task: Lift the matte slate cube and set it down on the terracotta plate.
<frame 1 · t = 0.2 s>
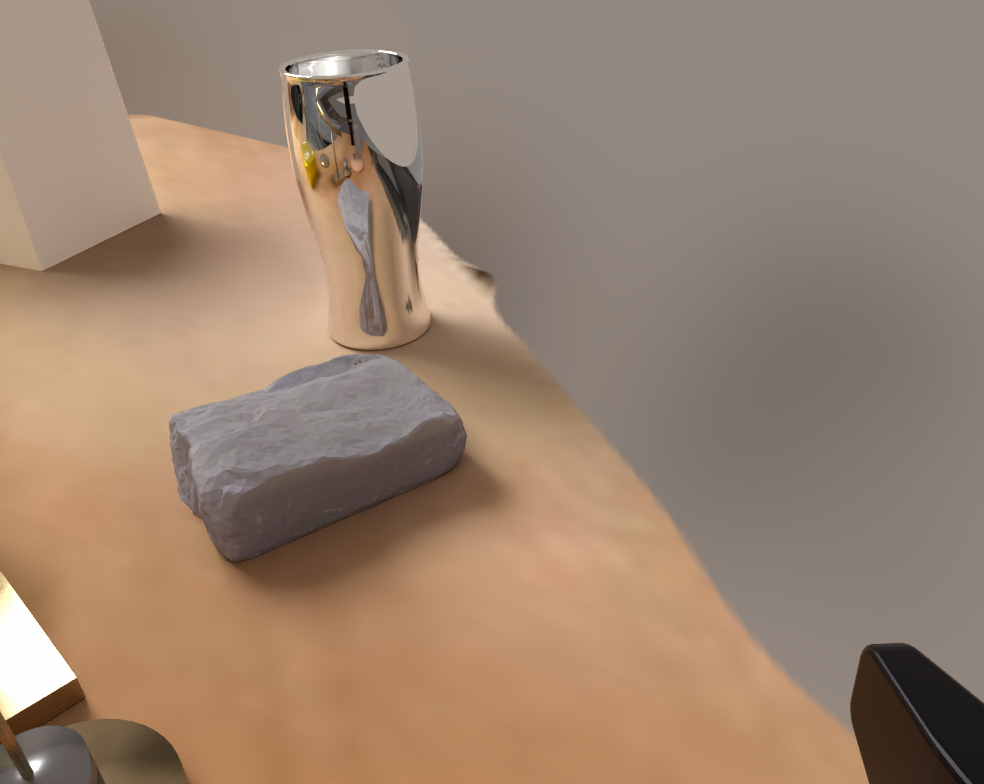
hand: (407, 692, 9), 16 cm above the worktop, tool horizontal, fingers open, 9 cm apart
stone block: (314, 469, 40), on the worktop
beer glass: (380, 328, 51), on the worktop
milk: (52, 234, 68), on the worktop
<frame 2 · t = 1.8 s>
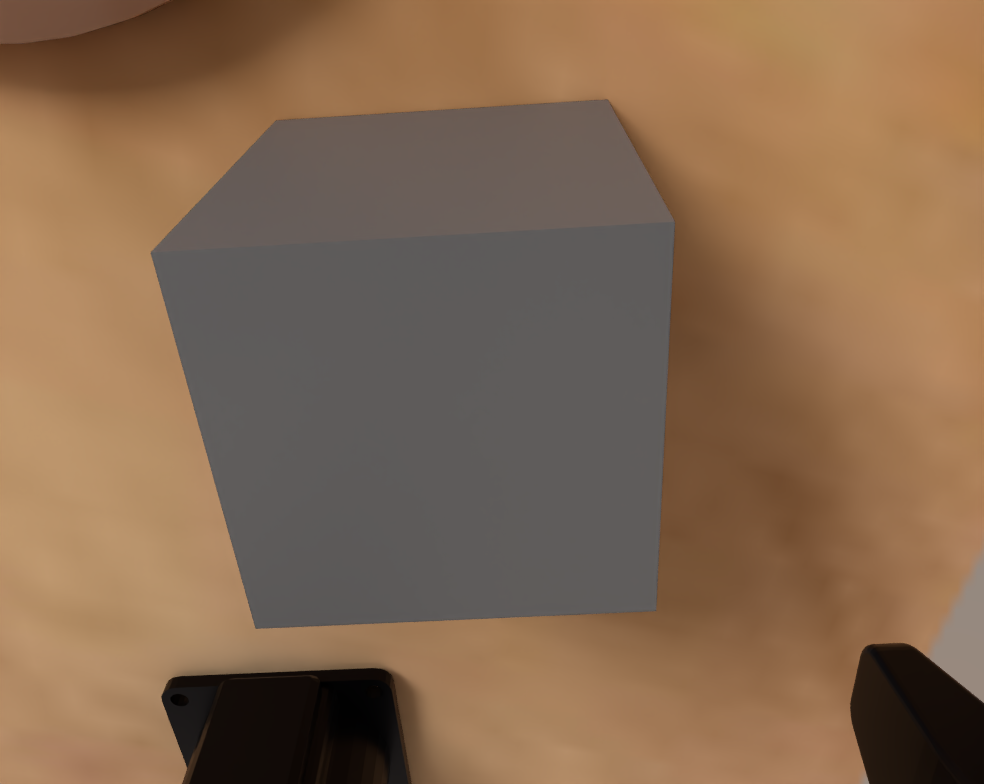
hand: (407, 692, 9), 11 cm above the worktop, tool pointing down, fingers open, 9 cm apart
matte slate cube: (454, 265, 18), on the worktop
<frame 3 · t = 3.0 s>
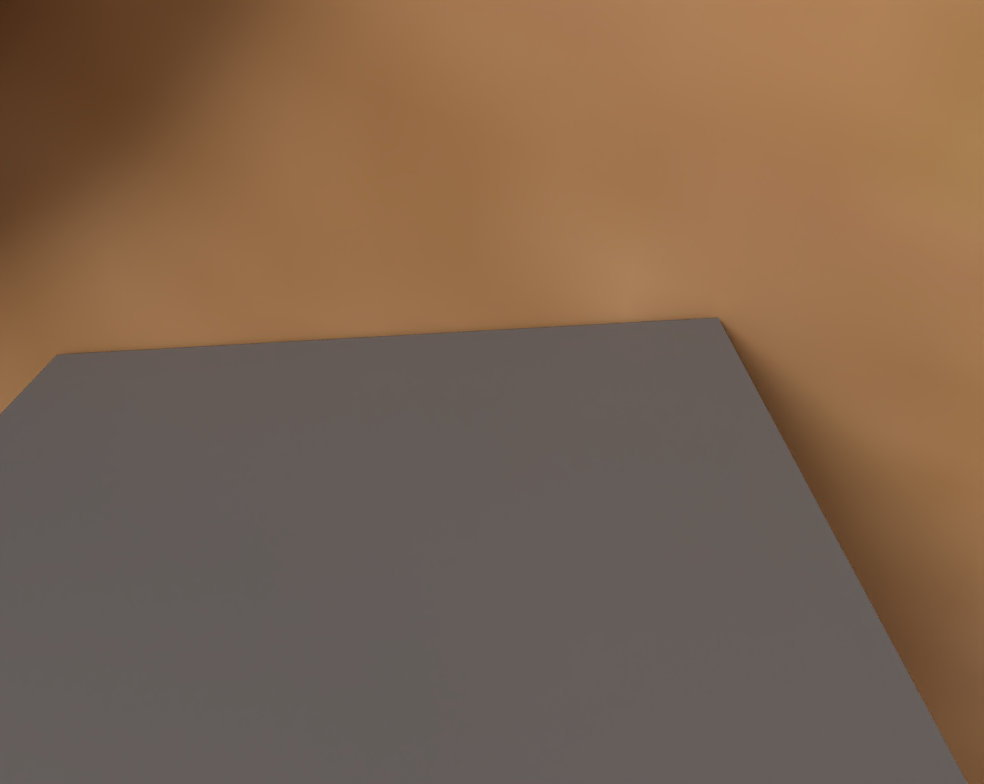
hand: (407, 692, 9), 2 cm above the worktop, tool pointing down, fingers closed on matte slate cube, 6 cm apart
matte slate cube: (418, 585, 10), on the worktop, touching gripper
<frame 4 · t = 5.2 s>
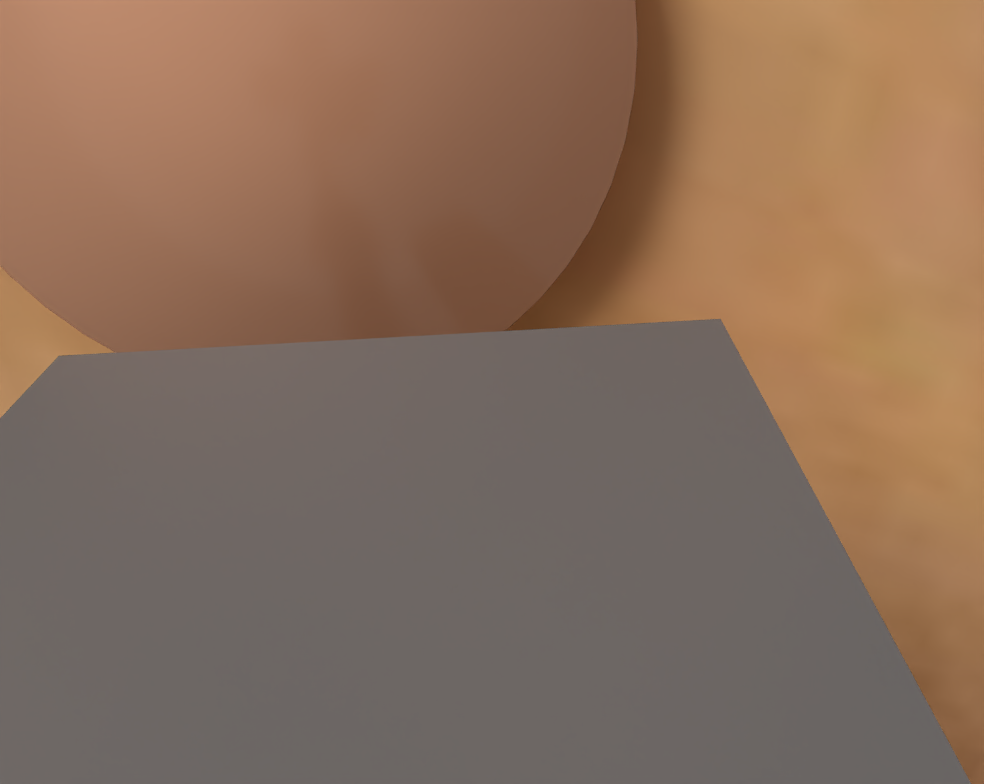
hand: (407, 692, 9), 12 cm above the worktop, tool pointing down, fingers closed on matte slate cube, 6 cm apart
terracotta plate: (273, 62, 17), on the worktop
matte slate cube: (420, 586, 10), point 10 cm above the worktop, touching gripper
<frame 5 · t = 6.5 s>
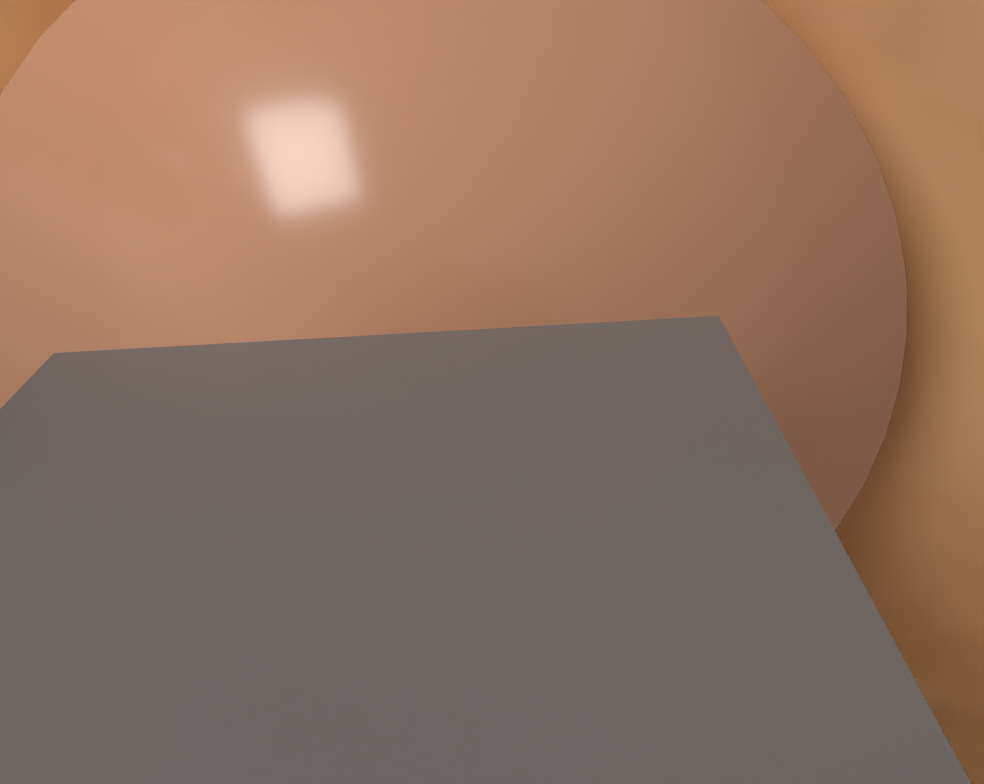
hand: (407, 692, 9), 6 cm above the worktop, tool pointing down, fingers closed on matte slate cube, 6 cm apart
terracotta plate: (438, 371, 14), on the worktop
matte slate cube: (417, 585, 10), point 5 cm above the worktop, touching gripper
when the fingers open (4 cm above the worktop, at t = 7.4 s): matte slate cube drops 1 cm, resting on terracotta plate.
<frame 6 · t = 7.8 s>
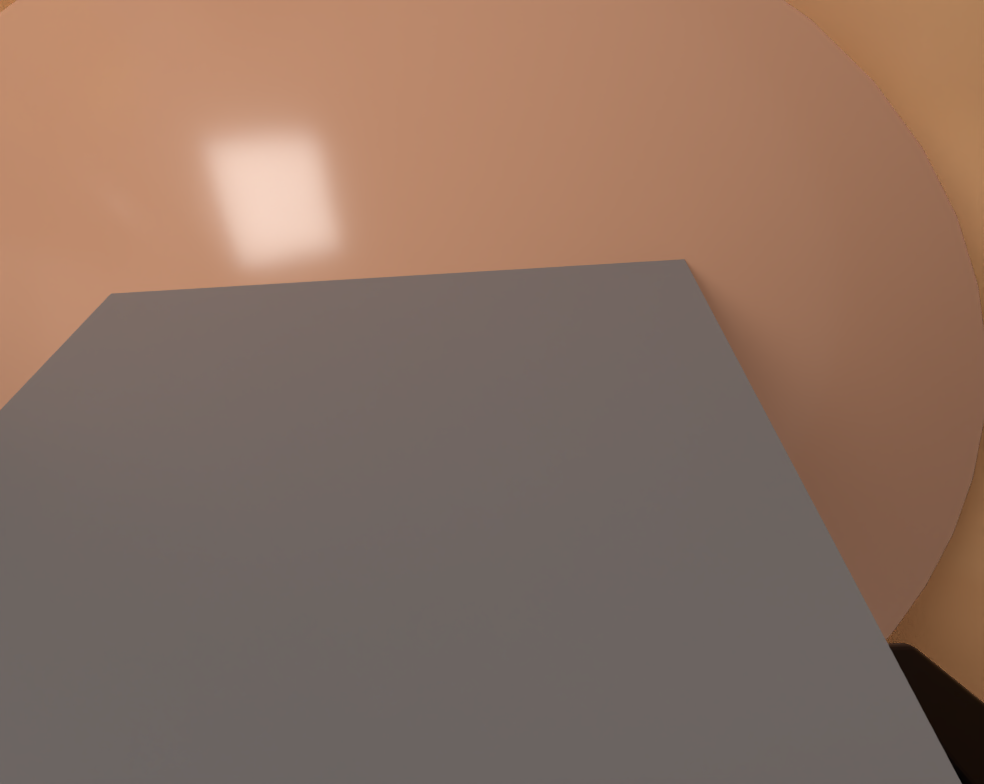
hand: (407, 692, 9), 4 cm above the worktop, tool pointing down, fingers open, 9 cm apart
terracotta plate: (431, 452, 12), on the worktop
matte slate cube: (424, 505, 11), point 1 cm above the worktop, touching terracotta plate
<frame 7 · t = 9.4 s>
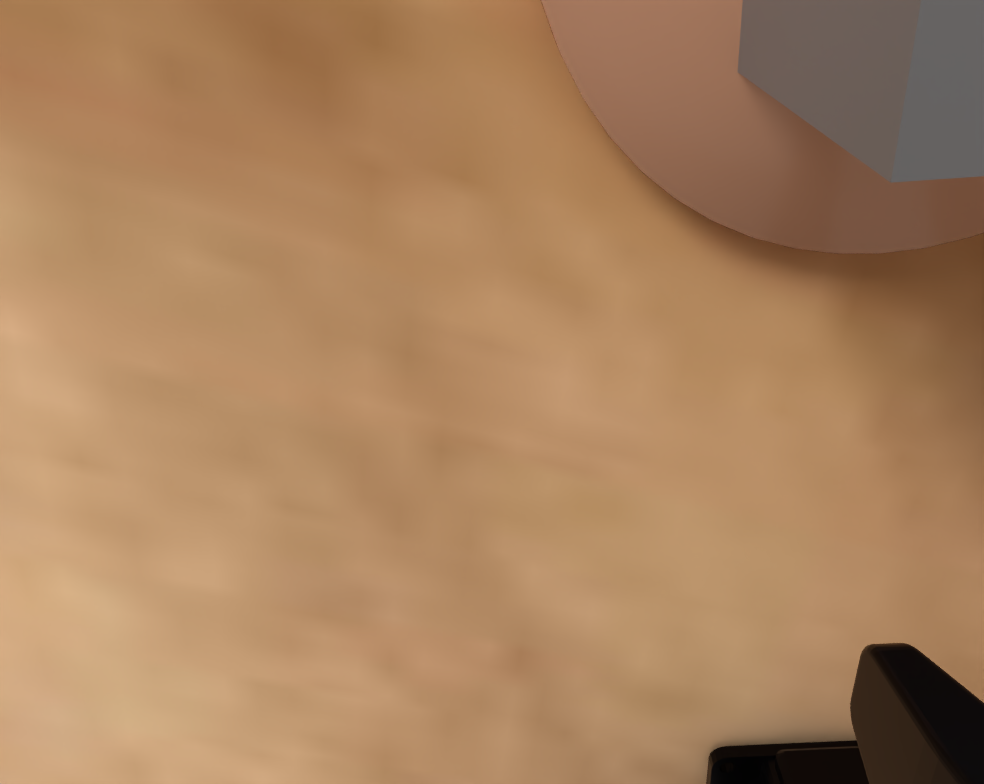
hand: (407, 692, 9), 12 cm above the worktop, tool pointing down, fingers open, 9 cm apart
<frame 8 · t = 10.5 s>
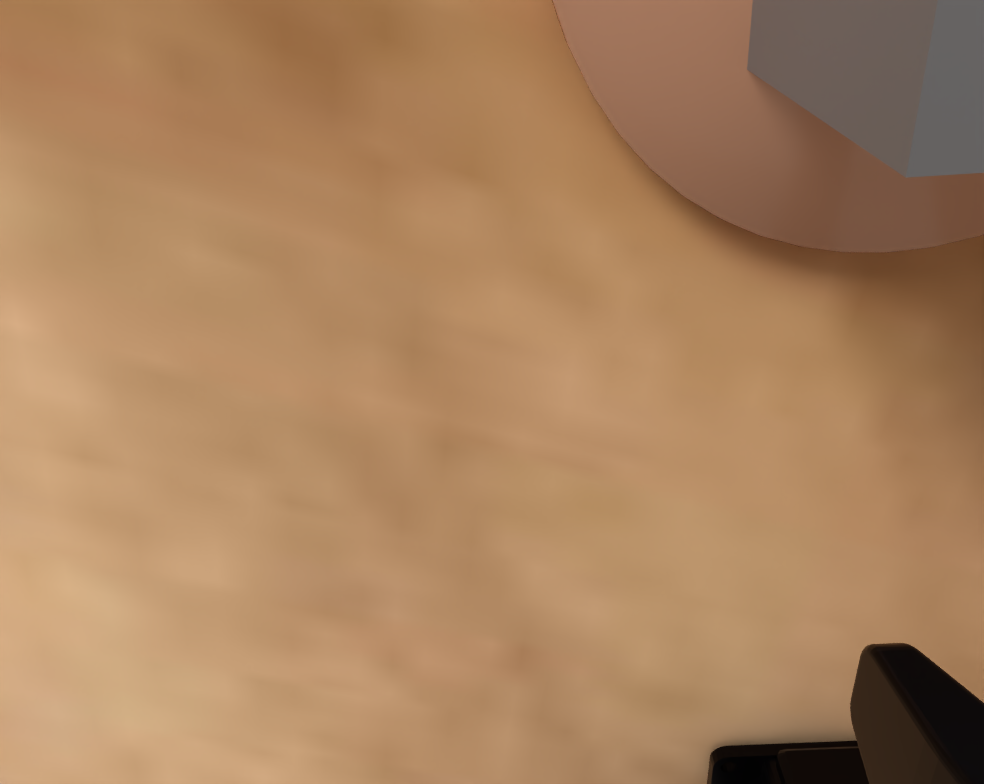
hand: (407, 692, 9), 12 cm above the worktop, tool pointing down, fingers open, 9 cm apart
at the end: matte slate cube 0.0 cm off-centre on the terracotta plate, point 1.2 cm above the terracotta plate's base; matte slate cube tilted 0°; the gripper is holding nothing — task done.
